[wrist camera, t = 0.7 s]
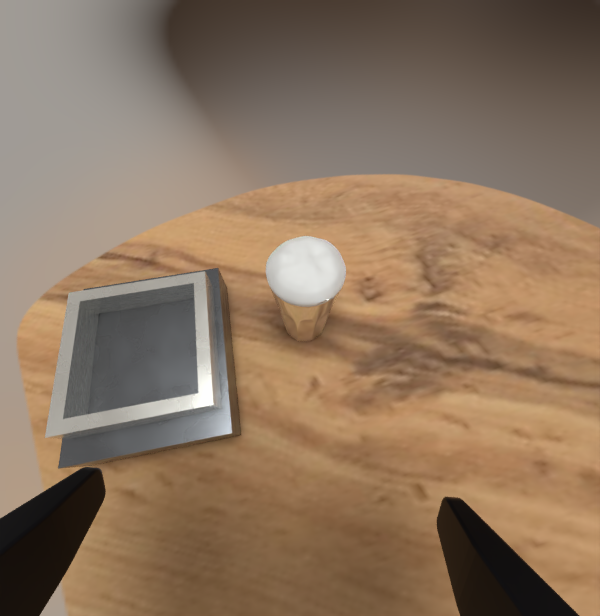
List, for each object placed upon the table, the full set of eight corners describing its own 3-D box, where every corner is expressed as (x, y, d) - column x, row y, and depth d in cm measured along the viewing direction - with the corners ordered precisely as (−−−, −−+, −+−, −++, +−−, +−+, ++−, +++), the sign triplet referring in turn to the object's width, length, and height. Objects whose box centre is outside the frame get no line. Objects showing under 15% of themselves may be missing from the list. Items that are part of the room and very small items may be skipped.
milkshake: (290, 368, 23) (283, 314, 13) (269, 308, 25) (251, 227, 16) (344, 348, 23) (373, 285, 14) (319, 292, 25) (330, 206, 16)
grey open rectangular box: (241, 434, 20) (224, 431, 16) (91, 465, 20) (29, 470, 15) (226, 287, 26) (210, 252, 21) (107, 306, 25) (64, 274, 20)
